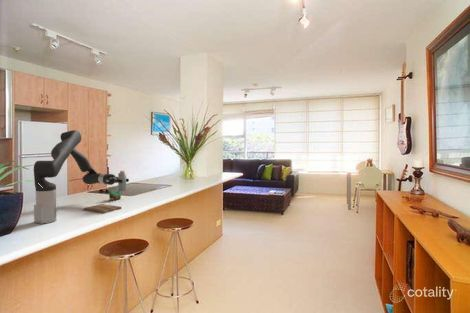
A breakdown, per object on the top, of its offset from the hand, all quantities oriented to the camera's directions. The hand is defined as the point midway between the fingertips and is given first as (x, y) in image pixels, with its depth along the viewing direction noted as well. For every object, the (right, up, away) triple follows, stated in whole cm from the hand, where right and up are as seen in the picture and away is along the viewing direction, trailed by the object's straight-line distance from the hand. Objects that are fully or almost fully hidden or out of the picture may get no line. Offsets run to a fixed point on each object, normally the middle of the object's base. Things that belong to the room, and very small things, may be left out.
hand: (125, 180), depth 187 cm
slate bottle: (-2, -7, +1) cm, 7 cm away
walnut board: (-12, -18, -7) cm, 23 cm away
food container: (-16, -17, +24) cm, 33 cm away
